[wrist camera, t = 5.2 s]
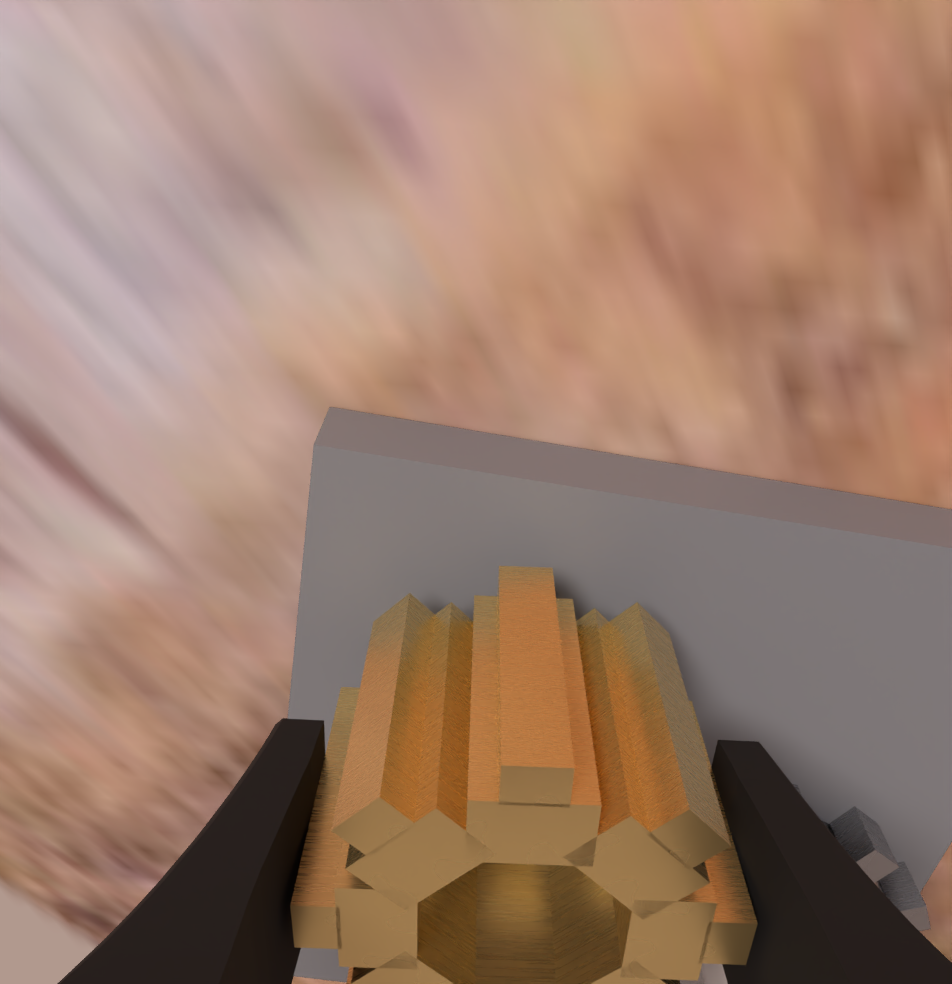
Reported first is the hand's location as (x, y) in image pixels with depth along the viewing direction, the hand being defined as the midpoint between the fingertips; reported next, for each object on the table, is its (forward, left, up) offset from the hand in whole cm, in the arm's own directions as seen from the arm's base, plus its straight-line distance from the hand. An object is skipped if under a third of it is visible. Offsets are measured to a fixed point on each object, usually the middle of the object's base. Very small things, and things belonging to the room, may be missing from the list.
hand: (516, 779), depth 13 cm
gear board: (-3, +3, -4) cm, 5 cm away
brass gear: (0, 0, -1) cm, 1 cm away
